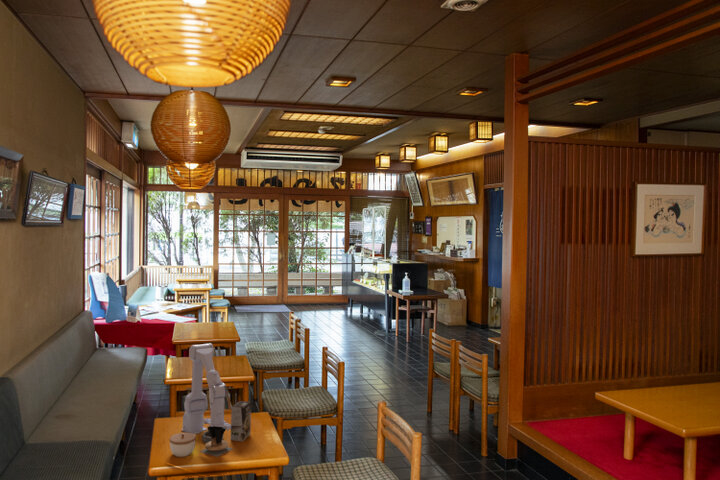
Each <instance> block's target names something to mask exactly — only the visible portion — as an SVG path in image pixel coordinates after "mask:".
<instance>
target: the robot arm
mask: <svg viewBox="0 0 720 480" xmlns="http://www.w3.org/2000/svg"><path fill="white" fill-rule="evenodd" d="M214 352H215V350H214V345H213V344H212V343H211V342H209V343H203V344H192V345H190V347H189V354H188V357H189V360H190V361H192V369H191V371H192V373H191V392H189V393H188V394H187V395H186V396H185V398H184V399H185V400H184V405H183V406H184V407H183V408H184V414H183V415H182V429H180V430H181V431H182V432H184V433H192V434H194V435H198V434H200V433H204V432H206V431H209V432H210V435H211V438H214V437H216V443H217V444H219V443H221V440H222V437H223V438H224V434H225V432H226V431H231V423H228V422H226V421H225V398H226V397H227V394H228V393H227V392H228V389H227V387H226V386H227V385H226V383H224V381H222V380H221V376H220V373H219V371H217V370H216V369H215V365H214V361H213V356H214ZM204 370H205V372H206V375H205V379H206V382H207V386H208V388H209V389H208V395H209V402H208V397H207V394H206V393H205V392H203V377H204V376H203V375H204ZM209 403H210V418H207V417H206V418H204V417H205V416H204V413H205V412H206V411H207V409H208V406H209V405H208V404H209ZM204 425H209V426H207V427H204Z"/></svg>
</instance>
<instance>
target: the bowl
mask: <svg viewBox="0 0 720 480" xmlns="http://www.w3.org/2000/svg"><path fill="white" fill-rule="evenodd" d="M211 439H212V438H211V435H210V432H209V431H208V430H205V431H203V432H202V435H201V442H203V443H205V444H206V443H207V442H210V441H211ZM223 439H224V436H223V437H222V440H223Z"/></svg>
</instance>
